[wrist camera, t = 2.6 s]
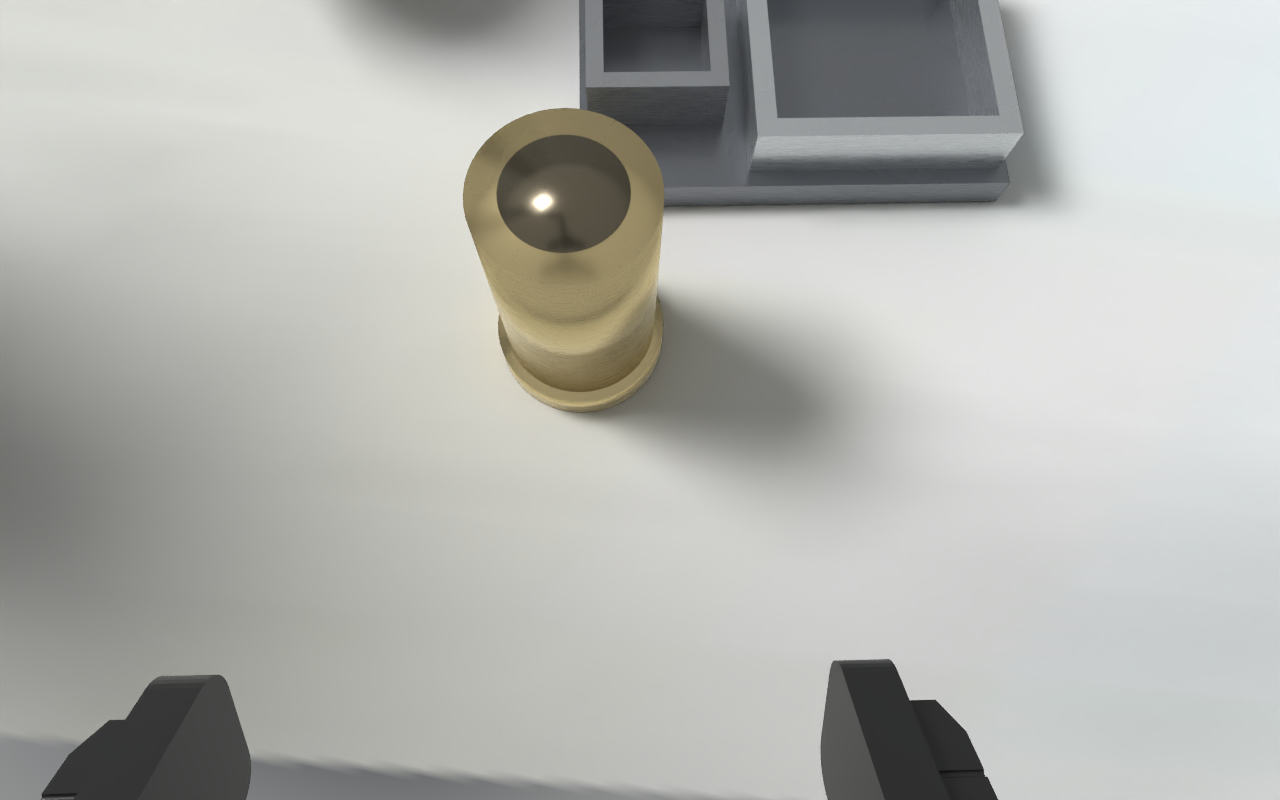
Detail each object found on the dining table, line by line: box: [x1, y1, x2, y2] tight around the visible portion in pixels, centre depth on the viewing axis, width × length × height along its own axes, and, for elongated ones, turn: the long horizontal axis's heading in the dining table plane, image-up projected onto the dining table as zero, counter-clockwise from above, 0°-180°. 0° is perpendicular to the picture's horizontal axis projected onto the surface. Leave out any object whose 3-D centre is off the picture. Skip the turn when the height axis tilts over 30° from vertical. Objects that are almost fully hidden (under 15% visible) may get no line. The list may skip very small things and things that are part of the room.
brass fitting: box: [463, 108, 664, 412], centre depth 24 cm, size 5×5×9 cm
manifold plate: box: [579, 0, 1024, 206], centre depth 30 cm, size 15×10×3 cm, turn 91°
